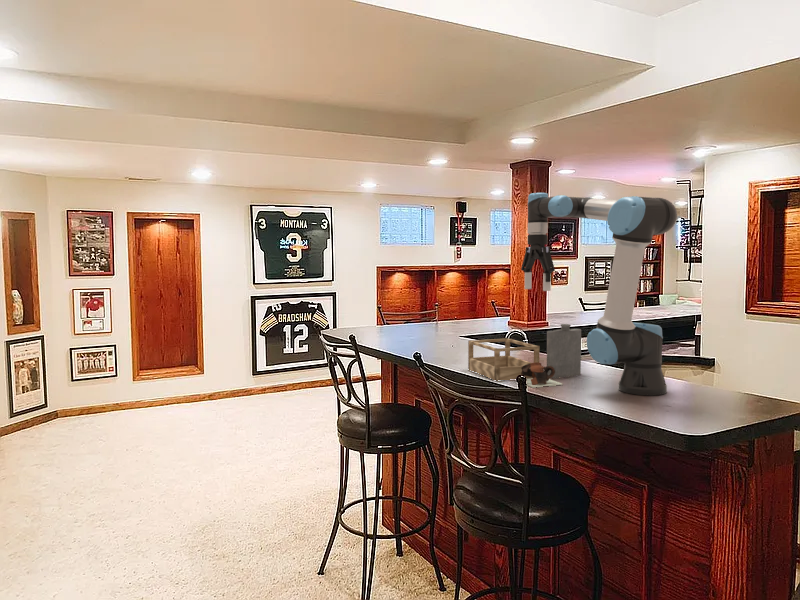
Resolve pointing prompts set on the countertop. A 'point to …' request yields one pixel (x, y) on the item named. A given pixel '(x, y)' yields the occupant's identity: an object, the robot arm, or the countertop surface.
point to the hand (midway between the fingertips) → (537, 289)
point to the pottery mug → (537, 373)
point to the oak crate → (499, 360)
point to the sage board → (549, 383)
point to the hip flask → (564, 351)
